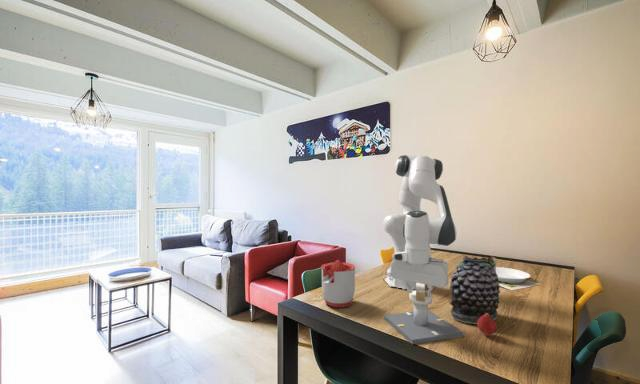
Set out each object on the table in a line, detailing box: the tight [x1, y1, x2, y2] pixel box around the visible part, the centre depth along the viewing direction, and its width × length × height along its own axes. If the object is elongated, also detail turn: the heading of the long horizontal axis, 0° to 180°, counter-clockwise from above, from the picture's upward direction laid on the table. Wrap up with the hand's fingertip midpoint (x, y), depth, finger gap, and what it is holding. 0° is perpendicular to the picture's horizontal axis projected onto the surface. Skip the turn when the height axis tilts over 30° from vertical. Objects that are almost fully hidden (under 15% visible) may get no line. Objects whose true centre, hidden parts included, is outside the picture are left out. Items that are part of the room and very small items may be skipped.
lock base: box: [383, 303, 464, 345], centre depth 107 cm, size 20×20×10 cm
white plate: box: [496, 266, 531, 284], centre depth 166 cm, size 25×25×4 cm
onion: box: [476, 313, 498, 337], centre depth 100 cm, size 6×6×8 cm
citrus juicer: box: [320, 259, 356, 308], centre depth 130 cm, size 16×17×20 cm
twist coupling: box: [408, 283, 433, 306], centre depth 107 cm, size 15×8×6 cm, turn 161°
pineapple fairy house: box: [448, 255, 501, 325], centre depth 114 cm, size 21×15×25 cm
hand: (418, 294), depth 104 cm, fingers open, 5 cm apart
